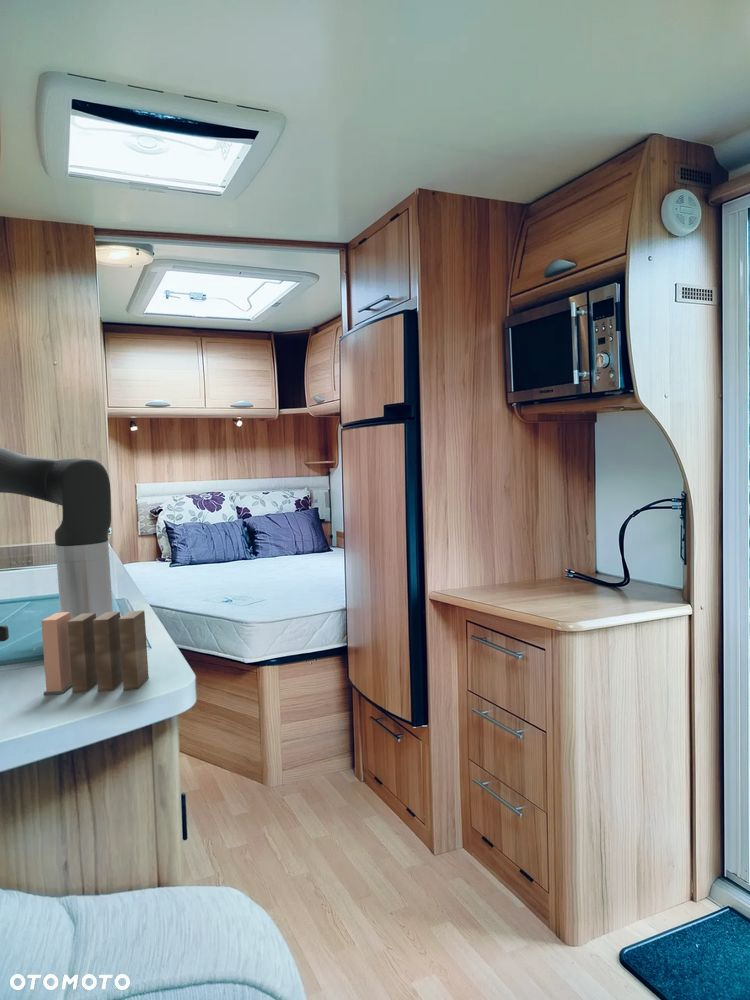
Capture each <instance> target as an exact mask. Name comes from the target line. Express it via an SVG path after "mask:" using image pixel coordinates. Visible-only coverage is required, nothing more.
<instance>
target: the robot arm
mask: <svg viewBox="0 0 750 1000" xmlns="http://www.w3.org/2000/svg"><path fill="white" fill-rule="evenodd" d="M109 477H110V476H109V474H108V472H107V469H106V468H105V466H104V465H103V464H102V463H101V462H99V460H96V459H94V458H89V457H76V458H64V459H63V458H61V459H60V458H48V457H47V458H46V457H39V456H33V455H27V454H22V453H18V452H16V451H13V450H11V449H8V448H6V447H4V446H1V445H0V494H2V493H3V494H14V495H21V496H24V497H29V498H33V499H37V500H41V501H45V502H48V503H51V504H55V505H59V506H62V520H61V524H60V525H59V527H58V528H56V530H55V531H54V542H55V543H54V545H55V556H56V557H55V559H56V570H57V571H56V572H57V584H58V587H57V588H58V600H59V613H61V612H70V613H71V619H73V618H75V617H77V616H79V615H80V614H85V613H96V618H98V617H99V616H101V615H103V614H104V613H106V612H114V610H113V609H114V606H113V593H112V592H113V591H112V578H111V563H110V562H111V561H110V551H109V550H110V548H109V531H110V528H111V524H112V498H111V497H112V494H111V482H110V481H111V480H110V478H109ZM9 638H10V636H9V627H8V626H7V625H0V642H6V641H7V640H8V639H9Z"/></svg>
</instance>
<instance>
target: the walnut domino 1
mask: <svg viewBox="0 0 750 1000" xmlns="http://www.w3.org/2000/svg"><path fill="white" fill-rule="evenodd" d="M94 619H96V613H85V614H80V615H79V616H77V617H75V618H73V619H71V620H69V621H68V635H69V649H70V663H71V678H72V687H71V690H72V691H71V692H72V693H74V694H76V693H77V694H78V693H89V692H90V690H92V689H93V688H94V687H95V686H97V670H96V655H95V640H94V625H93V620H94Z"/></svg>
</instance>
